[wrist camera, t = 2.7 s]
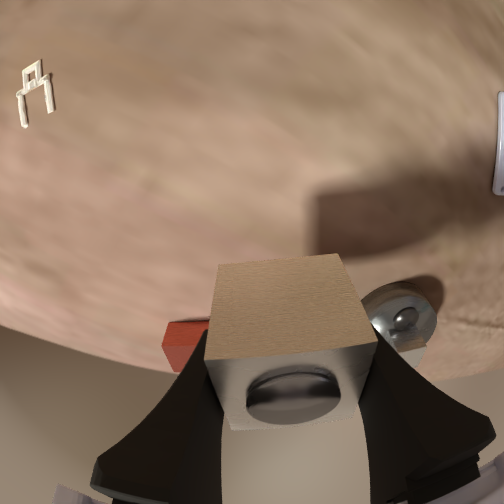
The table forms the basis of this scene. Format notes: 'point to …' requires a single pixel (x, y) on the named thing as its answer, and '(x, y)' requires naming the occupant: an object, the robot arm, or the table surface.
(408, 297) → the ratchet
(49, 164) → the table surface
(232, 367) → the cube block
